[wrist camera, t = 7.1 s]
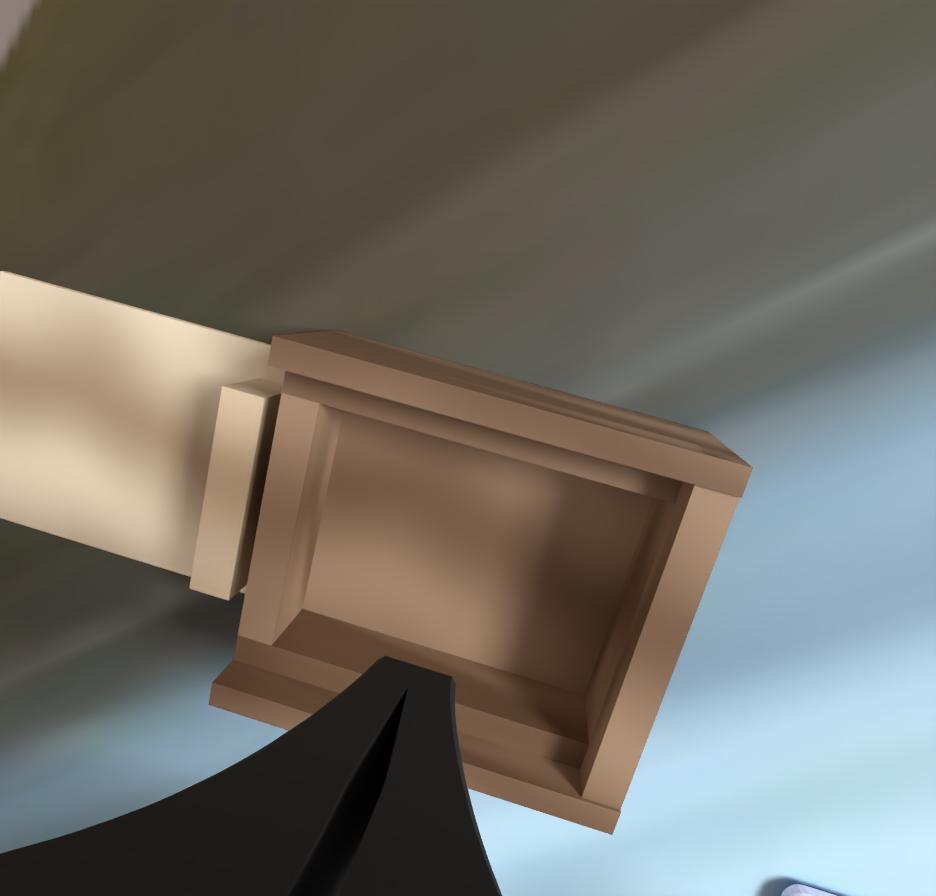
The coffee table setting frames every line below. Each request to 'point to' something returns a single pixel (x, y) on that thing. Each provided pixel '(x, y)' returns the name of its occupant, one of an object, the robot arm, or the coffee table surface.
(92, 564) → the coffee table surface
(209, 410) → the lid
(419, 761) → the robot arm
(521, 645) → the box
